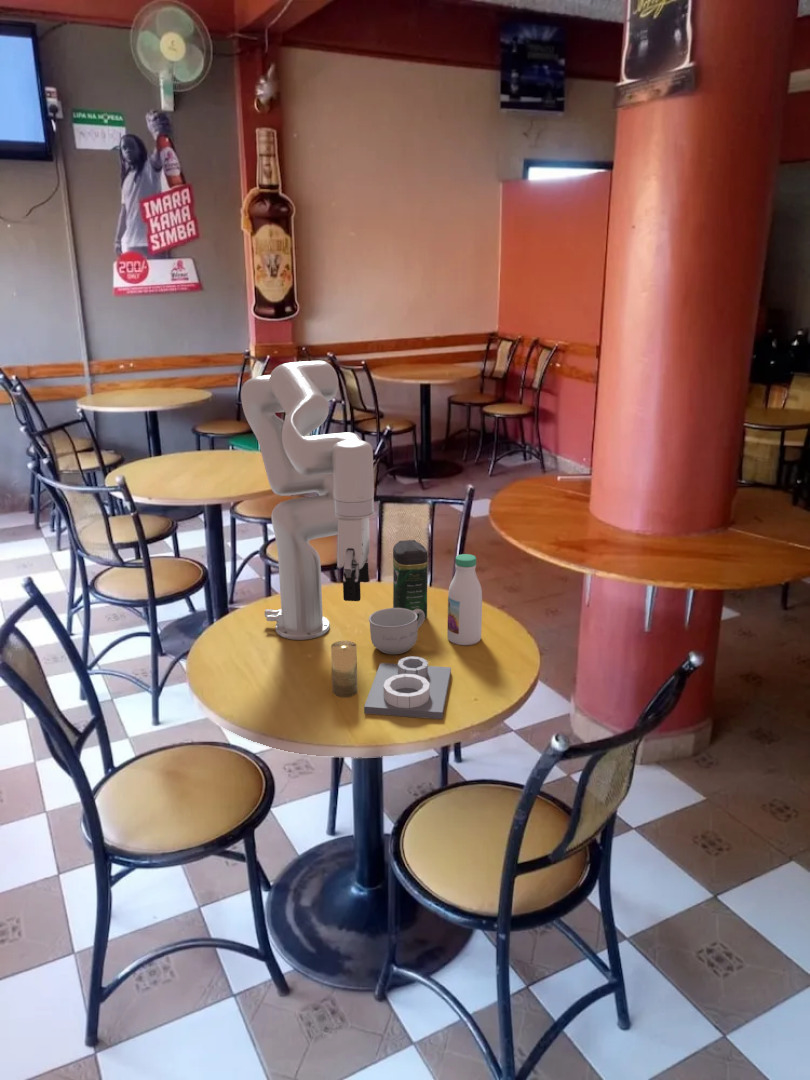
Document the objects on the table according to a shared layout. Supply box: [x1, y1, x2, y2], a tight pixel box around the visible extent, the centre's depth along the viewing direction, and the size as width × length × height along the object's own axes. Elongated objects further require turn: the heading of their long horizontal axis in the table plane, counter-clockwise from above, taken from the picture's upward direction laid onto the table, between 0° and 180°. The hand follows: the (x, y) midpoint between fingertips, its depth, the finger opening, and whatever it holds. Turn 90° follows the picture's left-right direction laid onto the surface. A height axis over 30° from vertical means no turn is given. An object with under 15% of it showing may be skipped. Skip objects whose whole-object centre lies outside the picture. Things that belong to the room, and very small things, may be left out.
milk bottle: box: [446, 553, 483, 646], centre depth 184 cm, size 8×8×20 cm
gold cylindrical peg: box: [330, 640, 358, 698], centre depth 164 cm, size 5×5×10 cm
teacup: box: [368, 607, 426, 655], centre depth 183 cm, size 14×11×8 cm
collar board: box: [363, 655, 452, 720], centre depth 164 cm, size 15×18×4 cm
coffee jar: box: [392, 539, 429, 621], centre depth 197 cm, size 10×8×19 cm
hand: (356, 590), depth 160 cm, fingers open, 9 cm apart
